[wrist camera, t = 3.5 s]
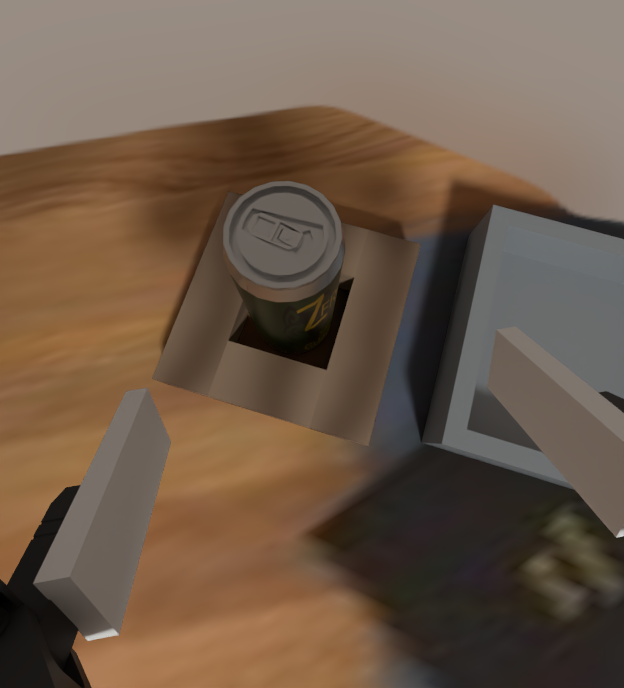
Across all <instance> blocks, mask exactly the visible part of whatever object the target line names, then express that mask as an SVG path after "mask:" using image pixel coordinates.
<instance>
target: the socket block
mask: <svg viewBox="0 0 624 688" xmlns="http://www.w3.org/2000/svg"><path fill="white" fill-rule="evenodd" d="M241 196H243V195H241V194H237V193H233V192H230V191H228V194H227V196H226V199H225V201H224V203H223V206H222V208H221V211H220V213H219V216H218V218H217V221H216V223H215V225H214V228H213V230H212V233H211V235H210V238H209V240H208V243H207V245H206V247H205V250H204V252H203V255H202V257H201V260H200V262H199V265H198V267H197V270H196V272H195V274H194V277H193V279H192V282H191V284H190V287H189V289H188V292H187V294H186V296H185V299H184V301H183V304H182V306H181V309H180V311H179V314H178V316H177V319H176V321H175V323H174V326H173V328H172V331H171V333H170V336H169V338H168V341H167V343H166V345H165V348H164V350H163V353H162V355H161V358H160V360H159V363H158V365H157V367H156V370H155V372H154V375H153V377H152V379H155V380H157V381H160V382H163V383H166V384H169V385H172V386H175V387H178V388H182V389H185V390H188V391H191V392H194V393H198V394H201V395H204V396H207V397H210V398H214V399H217V400H220V401H223V402H226V403H230V404H233V405H236V406H239V407H242V408H246V409H249V410H252V411H255V412H258V413H262V414H265V415H268V416H271V417H274V418H278V419H281V420H284V421H287V422H290V423H294V424H297V425H300V426H303V427H306V428H310V429H313V430H316V431H319V432H322V433H326V434H329V435H332V436H335V437H338V438H342V439H345V440H348V441H351V442H354V443H358V444H361V445H365V446H368V445H369V441H370V437H371V433H372V430H373V426H374V422H375V418H376V414H377V410H378V406H379V403H380V399H381V395H382V391H383V387H384V383H385V380H386V376H387V372H388V368H389V364H390V360H391V356H392V353H393V349H394V345H395V341H396V337H397V333H398V330H399V326H400V322H401V318H402V314H403V310H404V306H405V303H406V299H407V295H408V291H409V287H410V283H411V280H412V276H413V272H414V268H415V264H416V260H417V256H418V253H419V249H420V245H421V244H419V243H415V242H411V241H408V240H404V239H400V238H397V237H393V236H390V235H386V234H382V233H379V232H375V231H371V230H368V229H364V228H361V227H357V226H353V225H350V224H346V223H342V222H341V228H342V230H343V232H344V240H345V255H344V260H343V265H342V271H341V276H340V281H339V286H338V288H341V289H345V290H348V291H350V294H349V297H348V301H347V304H346V307H345V311H344V314H343V317H342V321H341V324H340V327H339V331H338V334H337V337H336V341H335V344H334V347H333V351H332V354H331V357H330V361H329V364H328V367H327V370H324V369H321V368H318V367H314V366H311V365H308V364H304V363H301V362H298V361H294V360H291V359H288V358H284V357H281V356H278V355H274V354H271V353H268V352H264V351H261V350H258V349H255V348H251V347H248V346H245V345H241V344H238V341H239V338H240V335H241V332H242V330H243V327H244V324H245V321H246V319H247V316H248V313H249V312H248V310H247V308H246V306H245V304H244V302H243V300H242V298H241V296H240V294H239V292H238V290H237V288H236V285H235V283H234V281H233V279H232V277H231V275H230V273H229V271H228V268H227V265H226V262H225V260H224V257H223V227H224V224H225V221H226V218H227V216H228V213H229V211H230V209H231V208H232V207H233V205H234V204H235V203H236V202H237V200H238V199H239V198H240V197H241Z"/></svg>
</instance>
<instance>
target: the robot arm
mask: <svg viewBox="0 0 624 688" xmlns="http://www.w3.org/2000/svg"><path fill="white" fill-rule="evenodd" d="M487 388H488V389H489V390H490V391H491V392H492V393H493V395H494V396H495V397H496V398H497V399H498V400H499V402H500V403H501V404H502V405H503V406H504V407H505V409H506V410H507V411H508V412H509V413H510V414H511V416H512V417H513V418H514V419H515V420H516V421H517V423H518V424H519V425H520V426H521V427H522V428H523V430H524V431H525V432H526V433H527V434H528V435H529V437H530V438H531V439H532V440H533V441H534V442H535V444H536V445H537V446H538V447H539V448H540V449H541V451H542V452H543V453H544V454H545V455H546V456H547V458H548V459H549V460H550V461H551V462H552V463H553V464H554V466H555V467H556V468H557V469H558V470H559V471H560V473H561V474H562V475H563V476H564V477H565V478H566V480H567V481H568V482H569V483H570V484H571V485H572V487H573V488H574V489H575V490H576V491H577V492H578V494H579V495H580V496H581V497H582V498H583V499H584V501H585V502H586V503H587V504H588V505H589V506H590V508H591V509H592V510H593V511H594V512H595V513H596V515H597V516H598V517H599V518H600V519H601V520H602V522H603V523H604V524H605V525H606V526H607V527H608V529H609V530H610V531H611V532H612V533H613V534H614V536H615V537H616V538H617V537H622V536H624V399H623V398H621V397H619V396H616V395H614V394H612V393H610V392H608V391H604V392H599V393H598V392H597V391H596V390H594V389H593V388H592V387H591V386H589V385H588V384H587V383H586V382H584V381H583V380H582V379H581V378H579V377H578V376H577V375H576V374H574V373H573V372H572V371H571V370H569V369H568V368H567V367H566V366H564V365H563V364H562V363H561V362H559V361H558V360H557V359H556V358H554V357H553V356H552V355H551V354H549V353H548V352H547V351H546V350H544V349H543V348H542V347H541V346H539V345H538V344H537V343H536V342H534V341H533V340H532V339H531V338H529V337H528V336H527V335H526V334H524V333H523V332H522V331H521V330H519V329H518V328H517V327H516V326H515V327H509V328H503V329H497V330H496V334H495V340H494V346H493V353H492V359H491V365H490V371H489V378H488V384H487ZM170 444H171V441H170V438H169V436H168V434H167V432H166V429H165V427H164V425H163V422H162V420H161V418H160V415H159V413H158V411H157V409H156V406H155V404H154V402H153V399H152V397H151V395H150V392H149V390H148V388H143V389H137V390H131V391H126V393H125V395H124V397H123V399H122V401H121V403H120V405H119V407H118V409H117V411H116V413H115V415H114V417H113V420H112V422H111V424H110V426H109V428H108V430H107V432H106V434H105V436H104V438H103V440H102V442H101V444H100V446H99V448H98V450H97V452H96V455H95V457H94V459H93V461H92V463H91V465H90V467H89V469H88V471H87V473H86V475H85V477H84V479H83V481H82V483H81V485H78V486H72V487H67V488H65V489H64V490H63V491H62V492H61V494H60V495H59V496H58V497H57V498H56V499H55V500H54V501H53V502H52V503H51V505H50V506H49V508H48V510H47V512H46V514H45V516H44V518H43V519H42V521H41V522H42V524H41V525H39V527H38V529H37V530H36V532H35V534H34V539H33V540H31V542H30V543H29V545H28V547H27V549H26V551H25V553H24V555H23V556H22V558H21V560H20V562H19V564H18V566H17V568H16V569H15V571H14V573H13V575H12V577H11V579H10V581H9V582H8V584H7V585H6V584H5V583H4V582H3V581H2V580H1V579H0V688H91V686H90V683H89V681H88V679H87V676H86V674H85V672H84V669H83V667H82V665H81V662H80V660H79V658H78V656H77V653H76V652H75V651H74V650H73V649H72V646H73V643H74V640H75V637H76V635H77V632H78V631H79V632H80V633H81V634H82V635H83V636H84V637H85V638H86V639H87V640H88V641H90V640H95V639H100V638H105V637H110V636H115V635H119V633H120V629H121V625H122V622H123V618H124V614H125V611H126V607H127V603H128V599H129V596H130V592H131V588H132V585H133V581H134V577H135V574H136V570H137V566H138V562H139V559H140V555H141V551H142V548H143V544H144V540H145V536H146V533H147V529H148V525H149V522H150V518H151V514H152V510H153V507H154V503H155V499H156V496H157V492H158V488H159V485H160V481H161V477H162V473H163V470H164V466H165V462H166V459H167V455H168V451H169V447H170Z"/></svg>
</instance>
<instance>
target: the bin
mask: <svg viewBox="0 0 624 688" xmlns="http://www.w3.org/2000/svg"><path fill="white" fill-rule="evenodd" d="M515 326H516V327H517V328H518V329H519V330H521V331H522V332H523V333H524V334H526V335H527V336H528V337H529V338H531V339H532V340H533V341H534V342H536V343H537V344H538V345H539V346H541V347H542V348H543V349H544V350H546V351H547V352H548V353H549V354H551V355H552V356H553V357H554V358H556V359H557V360H558V361H559V362H561V363H562V364H563V365H564V366H566V367H567V368H568V369H569V370H571V371H572V372H573V373H574V374H576V375H577V376H578V377H579V378H581V379H582V380H583V381H584V382H586V383H587V384H588V385H589V386H591V387H592V388H593V389H594V390H596V391H597V392H598V393H599V392H604V391H608V392H610V393H612V394H614V395H616V396H619V397H621V398H623V399H624V239H621V238H617V237H613V236H610V235H606V234H602V233H598V232H595V231H591V230H587V229H583V228H580V227H576V226H572V225H568V224H564V223H561V222H557V221H553V220H549V219H546V218H542V217H538V216H534V215H531V214H527V213H523V212H519V211H515V210H512V209H508V208H504V207H500V206H497V205H493V206H492V207H491V208H490V210H489V211H488V212H487V213H486V215H485V216H484V217H483V218H482V220H481V221H480V222H479V223H478V225H477V226H476V227H475V228H474V230H473V231H472V232H471V233H470V235H469V236H468V241H467V245H466V249H465V254H464V258H463V262H462V267H461V271H460V276H459V280H458V284H457V289H456V293H455V298H454V302H453V306H452V311H451V315H450V319H449V324H448V328H447V333H446V337H445V341H444V346H443V350H442V355H441V359H440V363H439V368H438V372H437V376H436V381H435V385H434V390H433V394H432V398H431V403H430V407H429V412H428V416H427V420H426V425H425V429H424V433H423V438H422V442H421V443H424V444H428V445H431V446H434V447H437V448H441V449H444V450H447V451H450V452H454V453H457V454H460V455H463V456H466V457H470V458H473V459H476V460H479V461H483V462H486V463H489V464H492V465H496V466H499V467H502V468H505V469H509V470H512V471H515V472H518V473H522V474H525V475H528V476H531V477H534V478H538V479H541V480H544V481H547V482H551V483H554V484H557V485H560V486H564V487H567V488H570V489H573V490H575V489H574V488H573V487H572V485H571V484H570V483H569V482H568V481H567V480H566V478H565V477H564V476H563V475H562V474H561V473H560V471H559V470H558V469H557V468H556V467H555V466H554V464H553V463H552V462H551V461H550V460H549V459H548V458H547V456H546V455H545V454H544V453H543V452H542V451H541V449H540V448H539V447H538V446H537V445H536V444H535V442H534V441H533V440H532V439H531V438H530V437H529V435H528V434H527V433H526V432H525V431H524V430H523V428H522V427H521V426H520V425H519V424H518V423H517V421H516V420H515V419H514V418H513V417H512V416H511V414H510V413H509V412H508V411H507V410H506V409H505V407H504V406H503V405H502V404H501V403H500V402H499V400H498V399H497V398H496V397H495V396H494V395H493V393H492V392H491V391H490V390H489V389H488V388H487V384H488V378H489V371H490V365H491V359H492V353H493V346H494V340H495V334H496V330H497V329H503V328H509V327H515Z"/></svg>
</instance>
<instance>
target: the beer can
mask: <svg viewBox="0 0 624 688" xmlns="http://www.w3.org/2000/svg"><path fill="white" fill-rule="evenodd" d="M344 255H345V240H344V232H343V230H342V228H341V221H340V219H339V217H338V214H337V212H336V210H335V208H334V206H333V205H332V204H331V203H330V202H329V201H328V199H327V198H326V197H325V196H324V195H323V194H322V193H320V192H318V191H317V190H315V189H313V188H311V187H309V186H308V185H305V184H300V183H296V182H292V181H277V182H269V183H266V184H263V185H260V186H257V187H254V188H253V189H251V190H250V191H248V192H247V193H245V194H244V195H243V196H241V197H240V198H239V199H238V200H237V202H236V203H235V204H234V205H233V207H232V208H231V209H230V211H229V213H228V216H227V218H226V221H225V224H224V227H223V257H224V260H225V262H226V265H227V268H228V271H229V273H230V275H231V277H232V279H233V281H234V283H235V285H236V288H237V290H238V292H239V294H240V296H241V298H242V300H243V302H244V304H245V306H246V308H247V310H248V312H249V314H250V316H251V318H252V320H253V322H254V324H255V326H256V328H257V330H258V332H259V334H260V336H261V337H262V338H263V339H264V341H265V342H266V343H267V344H268V345H269V346H271V347H273V348H274V349H276V350H277V351H281V352H285V353H288V354H294V353H303V352H306V351H308V350H311V349H313V348H315V347H316V346H317V345H318V344H320V343H321V342H322V341H323V340H324V338H325V337H326V335H327V334H328V332H329V329H330V325H331V322H332V317H333V312H334V307H335V302H336V296H337V291H338V286H339V281H340V276H341V271H342V265H343V260H344Z"/></svg>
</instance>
